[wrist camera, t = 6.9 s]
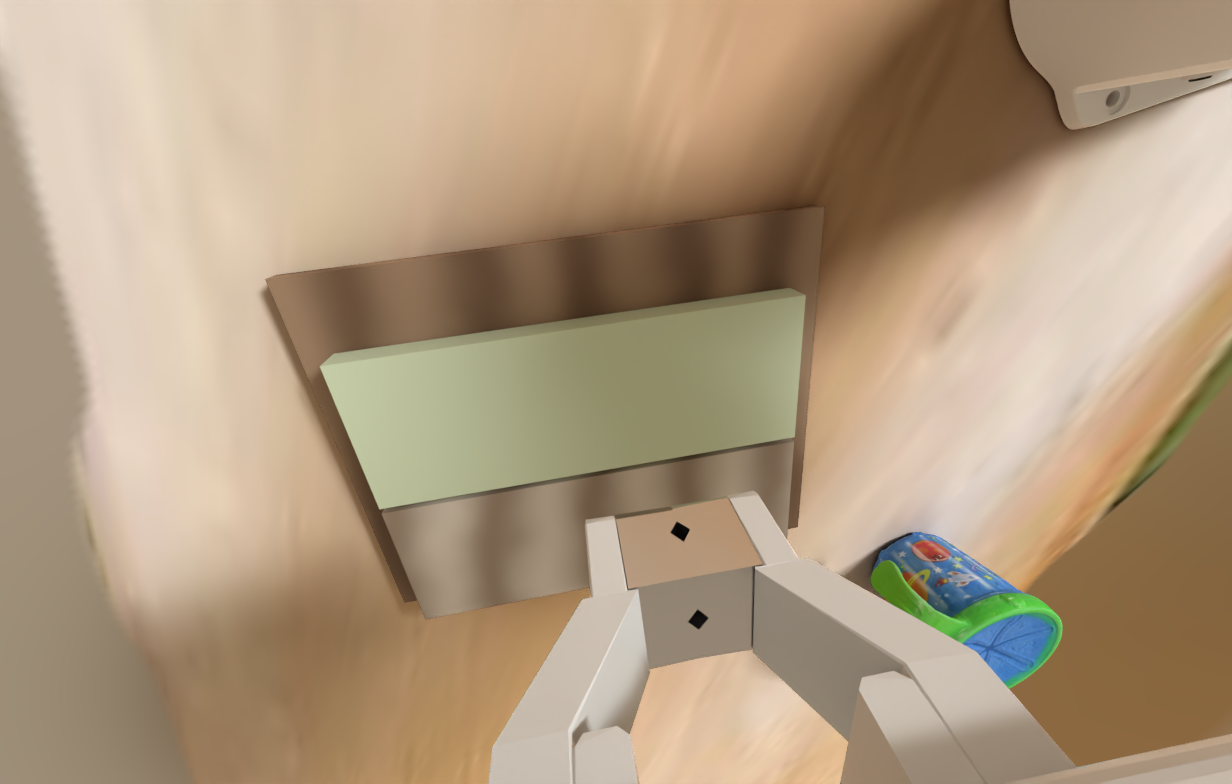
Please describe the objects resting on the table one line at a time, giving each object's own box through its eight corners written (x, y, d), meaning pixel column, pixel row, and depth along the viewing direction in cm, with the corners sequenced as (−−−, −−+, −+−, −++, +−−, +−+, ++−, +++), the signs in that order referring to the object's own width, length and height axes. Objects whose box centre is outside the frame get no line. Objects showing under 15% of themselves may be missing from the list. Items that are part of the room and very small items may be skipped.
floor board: (814, 205, 29) (844, 209, 26) (790, 517, 40) (810, 544, 37) (276, 275, 26) (244, 287, 23) (408, 590, 37) (397, 624, 34)
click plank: (789, 287, 30) (805, 295, 28) (781, 423, 34) (794, 437, 32) (333, 353, 27) (319, 366, 25) (388, 490, 32) (379, 509, 30)
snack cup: (991, 551, 46) (1103, 644, 37) (911, 620, 49) (997, 723, 40) (898, 486, 40) (1002, 578, 31) (813, 568, 43) (887, 674, 34)
